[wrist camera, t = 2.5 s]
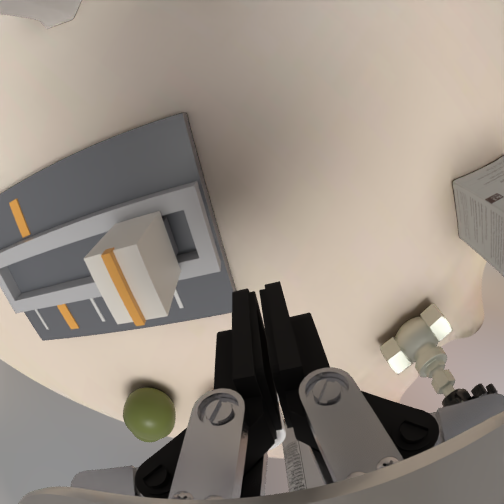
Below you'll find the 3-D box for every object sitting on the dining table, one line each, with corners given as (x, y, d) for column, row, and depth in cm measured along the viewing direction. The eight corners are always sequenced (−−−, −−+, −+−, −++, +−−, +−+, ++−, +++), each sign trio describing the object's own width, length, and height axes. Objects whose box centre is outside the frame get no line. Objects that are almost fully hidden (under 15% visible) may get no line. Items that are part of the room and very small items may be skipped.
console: (-14, 204, 17) (-33, 215, 15) (186, 113, 16) (178, 112, 14) (48, 330, 24) (37, 348, 21) (238, 299, 23) (239, 321, 20)
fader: (121, 216, 17) (79, 261, 12) (163, 203, 17) (133, 246, 12) (143, 271, 19) (116, 329, 14) (184, 262, 19) (166, 321, 14)
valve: (367, 332, 25) (417, 438, 15) (421, 286, 23) (494, 380, 13) (394, 358, 28) (438, 447, 17) (441, 319, 26) (500, 401, 15)
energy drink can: (317, 433, 34) (337, 529, 20) (274, 433, 33) (287, 536, 19) (334, 409, 31) (363, 517, 18) (288, 410, 30) (307, 528, 17)
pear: (176, 434, 23) (165, 454, 28) (182, 387, 27) (170, 418, 32) (117, 419, 22) (121, 443, 27) (129, 373, 26) (129, 407, 31)
